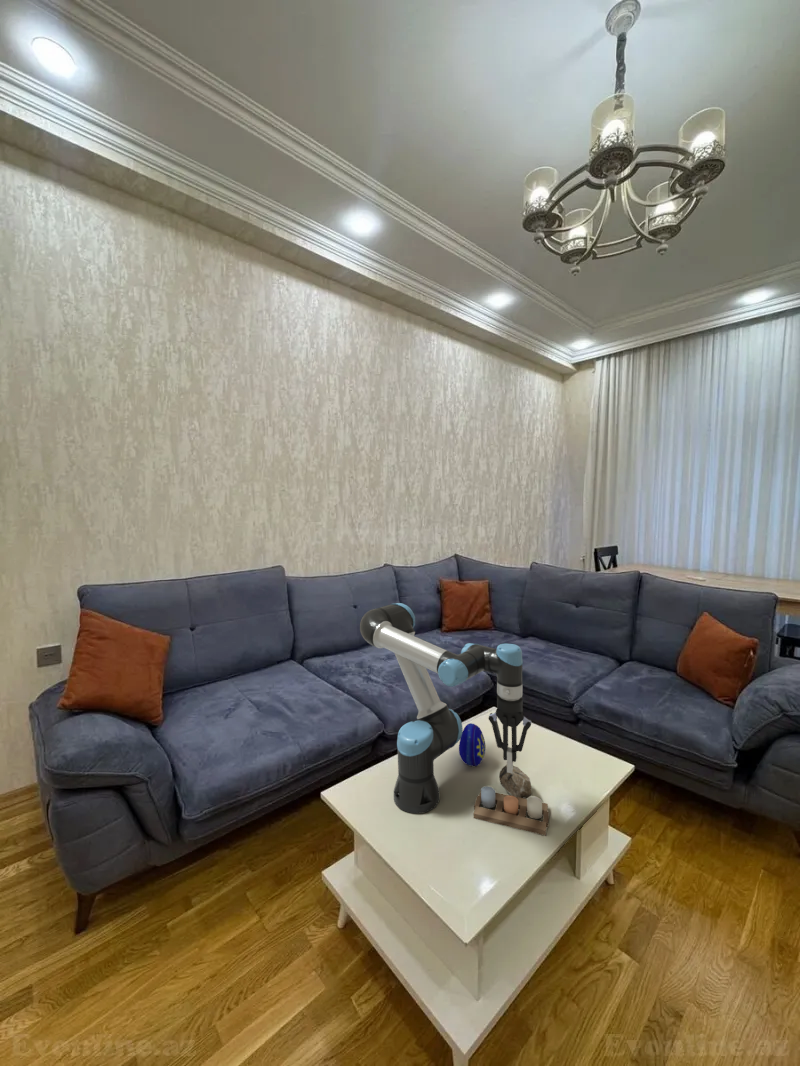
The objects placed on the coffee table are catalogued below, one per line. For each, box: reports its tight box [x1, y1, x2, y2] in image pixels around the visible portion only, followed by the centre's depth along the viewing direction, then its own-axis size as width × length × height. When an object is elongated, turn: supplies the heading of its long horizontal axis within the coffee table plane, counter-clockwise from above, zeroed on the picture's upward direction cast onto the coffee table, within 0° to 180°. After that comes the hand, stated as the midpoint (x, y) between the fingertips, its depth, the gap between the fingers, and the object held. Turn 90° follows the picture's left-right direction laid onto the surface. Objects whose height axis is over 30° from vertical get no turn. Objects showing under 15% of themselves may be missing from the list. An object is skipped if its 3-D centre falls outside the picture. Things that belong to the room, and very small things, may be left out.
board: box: [473, 790, 550, 836], centre depth 133 cm, size 22×12×2 cm, turn 68°
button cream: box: [526, 795, 543, 820], centre depth 130 cm, size 4×4×4 cm
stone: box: [499, 764, 533, 799], centre depth 143 cm, size 7×12×7 cm, turn 35°
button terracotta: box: [503, 794, 519, 816], centre depth 133 cm, size 4×4×4 cm
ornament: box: [458, 722, 487, 767], centre depth 159 cm, size 11×9×15 cm
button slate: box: [480, 786, 496, 809], centre depth 135 cm, size 4×4×4 cm
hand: (510, 770), depth 132 cm, fingers closed
